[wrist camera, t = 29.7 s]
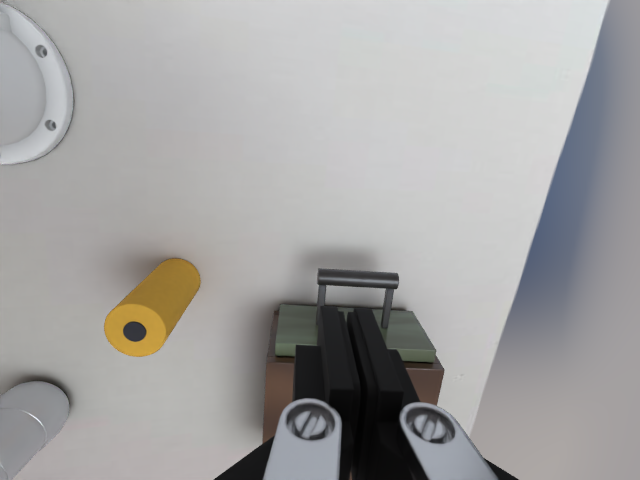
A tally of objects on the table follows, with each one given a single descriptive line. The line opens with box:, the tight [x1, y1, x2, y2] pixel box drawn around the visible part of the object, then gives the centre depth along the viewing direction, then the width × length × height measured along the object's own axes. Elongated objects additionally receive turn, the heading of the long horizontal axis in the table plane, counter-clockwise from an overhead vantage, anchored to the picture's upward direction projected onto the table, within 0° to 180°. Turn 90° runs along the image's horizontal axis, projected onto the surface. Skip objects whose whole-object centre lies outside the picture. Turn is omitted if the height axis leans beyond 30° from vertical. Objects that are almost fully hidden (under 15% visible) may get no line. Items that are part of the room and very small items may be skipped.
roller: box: [104, 259, 200, 357], centre depth 31 cm, size 4×4×10 cm
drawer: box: [275, 268, 436, 363], centre depth 34 cm, size 20×13×7 cm
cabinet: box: [263, 311, 444, 480], centre depth 36 cm, size 16×15×9 cm
